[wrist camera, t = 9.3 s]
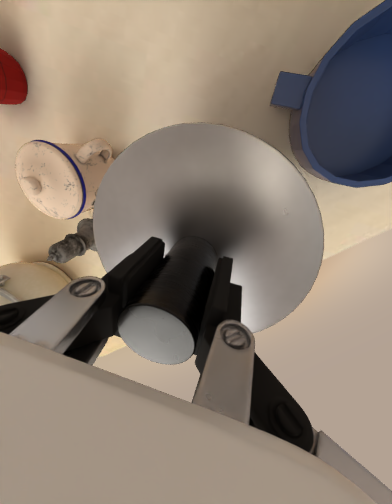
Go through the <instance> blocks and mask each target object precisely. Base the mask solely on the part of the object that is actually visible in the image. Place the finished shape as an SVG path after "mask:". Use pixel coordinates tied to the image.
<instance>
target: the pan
mask: <svg viewBox="0 0 392 504" xmlns="http://www.w3.org/2000/svg"><path fill="white" fill-rule="evenodd" d="M270 106H273V107H278V108H284V109H289V110H292V113H291V117H290V123H289V139H290V144H291V148H292V151H293V154H294V156H295V158H296V159H297V161H298V162H299V164H300V165H301V166H302V167H303V168H304V169H305V170H306V171H308V172H309V173H311V174H313V175H314V176H315V177H318V178H320V179H323V180H326V181H329V182H332V183H337V184H341V185H346V186H350V187H356V188H358V187H367V186H376V185H384V184H387V183H390V182H392V0H385V1H384V2H382V3H381V4H379V5H378V6H376V7H375V8H374V9H372V10H371V11H369V12H368V13H366V14H365V15H364V16H362V17H361V18H359V19H358V20H356V21H355V22H354V23H353V24H352V25H351V26H350V27H349V28H348V29H347V30H346V31H345V33H344V34H343V35H342V36H341V37H340V38H339V39H338V41H337V42H336V43H335V44H334V45H333V46H332V47H331V49H330V50H329V51H328V52H327V53H326V54H325V56H324V57H323V58H322V59H321V60H320V62H319V63H318V64H317V65H316V67H315V68H314V69H313V70H312V72H311V73H310V74H309V75H308V76H307V75H301V74H295V73H289V72H283V71H281V72H280V73H279V76H278V79H277V82H276V86H275V89H274V92H273V96H272V99H271V102H270Z"/></svg>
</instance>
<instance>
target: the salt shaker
mask: <svg viewBox="0 0 392 504" xmlns="http://www.w3.org/2000/svg"><path fill="white" fill-rule="evenodd" d="M88 249H91V250H93V251H97V247H96V244H95V238H94V231H93V219H89V218H87V219H83V220H81V221H80V222H79V223H78V226H77V233H75V234H68V235H66V237H65V239H64V240H62V241H60V242H58V243H55V244H53V245H52V246H51V247H50V248H49V256H48V258H47V261H52V260H53V261H55V262H57V263H65V262H67V261H69V260H71V259H72V258H74V257H76V256H82V255H84V254H85V252H86V250H88Z"/></svg>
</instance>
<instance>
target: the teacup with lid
mask: <svg viewBox="0 0 392 504" xmlns="http://www.w3.org/2000/svg"><path fill="white" fill-rule="evenodd" d="M111 155H112V147H111V146H110V144H109V143H108V142H107V141H106V140H104V139H94V140H91V141H89V142H87V143H86V144H84V145H78V144H59V143H50V142H48V141H44V140H34V141H31V142H28V143H26V144H24V145H23V146H22V147H21V148H20V149H19V151H18V153H17V155H16V159H15V172H16V176H17V180H18V182H19V185H20V187H21V189H22V191H23V192H24V194H25V195H26V197H27V198H28V200H29V201H30V202H31V203H32V204H33V205H34V206H35V207H36V208H37V209H39V210H40V211H41V212H43V213H44V214H46V215H48V216H51V217H53V218H57V219H71V218H74V217H76V216H77V215H79V214H80V213H82V212H85V211H88V210H90V209H93V208H94V203H95V199H96V195H97V191H98V188H99V186H100V184H101V181H102V179H103V177H104V175H105V173H106V172H107V170H108V169H109V167H110V165H111V164H112V163H113V162H114V159H113V158H112V157H111Z"/></svg>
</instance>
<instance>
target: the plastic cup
mask: <svg viewBox="0 0 392 504" xmlns="http://www.w3.org/2000/svg"><path fill="white" fill-rule="evenodd" d="M26 96H27V81H26V78H25V74H24V72H23V70H22V68H21V67H20V65H19V63H18V62H17V61H16V60H15V59H14V58H13V57H12V56H11V55H9V54H8V53H7V52H6V51H4V50H2V49H1V48H0V104H21V103H22V102H23V101H25V99H26Z"/></svg>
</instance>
